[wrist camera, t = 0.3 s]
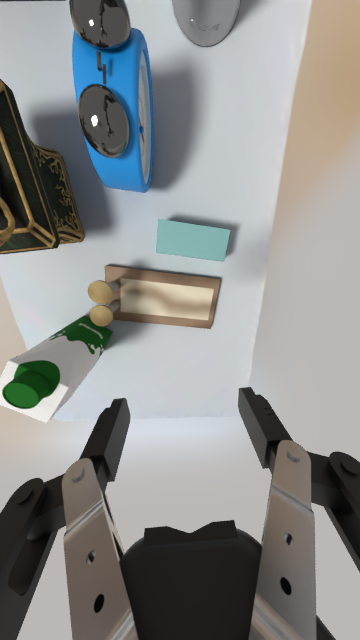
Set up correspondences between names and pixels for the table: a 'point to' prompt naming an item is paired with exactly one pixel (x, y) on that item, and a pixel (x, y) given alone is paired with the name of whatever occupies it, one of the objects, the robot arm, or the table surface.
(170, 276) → the board
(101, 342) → the milk carton
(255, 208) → the table surface
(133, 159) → the alarm clock
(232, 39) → the table surface
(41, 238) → the decorative box
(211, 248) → the teal rectangular prism
